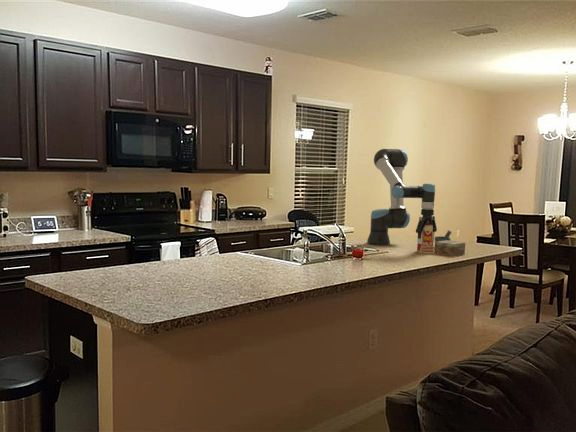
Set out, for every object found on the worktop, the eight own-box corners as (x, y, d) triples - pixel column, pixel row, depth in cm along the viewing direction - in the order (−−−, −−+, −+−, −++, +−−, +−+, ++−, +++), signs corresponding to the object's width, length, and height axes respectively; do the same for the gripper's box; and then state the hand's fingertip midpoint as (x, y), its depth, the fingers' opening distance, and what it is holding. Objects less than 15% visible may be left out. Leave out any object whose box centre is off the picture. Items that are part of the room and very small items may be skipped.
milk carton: (434, 253, 323) (436, 221, 321) (419, 253, 323) (421, 220, 321) (430, 251, 332) (432, 219, 330) (416, 250, 332) (417, 219, 330)
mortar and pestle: (431, 247, 349) (432, 229, 348) (439, 246, 355) (440, 228, 354) (446, 249, 340) (447, 231, 339) (454, 248, 346) (455, 230, 345)
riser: (434, 253, 325) (434, 241, 324) (445, 251, 334) (446, 240, 333) (453, 256, 315) (454, 244, 314) (464, 254, 324) (465, 242, 323)
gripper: (421, 210, 314) (419, 245, 316) (443, 208, 331) (441, 242, 333) (410, 209, 319) (409, 243, 321) (433, 207, 336) (431, 240, 338)
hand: (425, 243), depth 327 cm, fingers open, 13 cm apart
